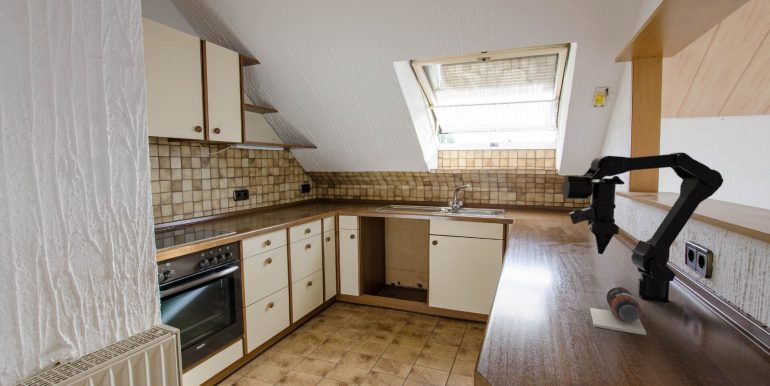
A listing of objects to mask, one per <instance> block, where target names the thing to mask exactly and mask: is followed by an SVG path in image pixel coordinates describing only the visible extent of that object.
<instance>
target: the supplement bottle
mask: <svg viewBox="0 0 770 386" xmlns="http://www.w3.org/2000/svg"><path fill="white" fill-rule="evenodd" d="M606 302H607V304H608V306H609V308H610V311H612V312H613V314H614V315H615V316H616V317H617V318H618V319H620V320H622V321H625V322H634V321H636V320H637V319H638V318H639V319H640V317H641V315H642V307H641V305H640V303H639V302H638V300H637V299H636V298H635V296H634V295H633V294H632V292H630V291H629V290H628V289H626V288H624V287H621V286H620V287H619V286H617V287H613V288H611V289H609V290H608V291H607V294H606Z"/></svg>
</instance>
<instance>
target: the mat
mask: <svg viewBox="0 0 770 386" xmlns="http://www.w3.org/2000/svg"><path fill="white" fill-rule="evenodd" d="M589 309H590V310H589V311H590V314H591V320H592V325H593V327H596V328H601V329H607V330H613V331H619V332H620V331H621V332H627V333H630V334H637V335H644V336H647V331H646V329H645V328H644V326H643V324H642V322H641V320H640V317H639V318H638V319H637V320H636V321H634V322H625V321H622V320H620V319H618V318H617V317H616V316H615V315H614V314H613V312H612V310H606V309H600V308H594V307H590V308H589Z"/></svg>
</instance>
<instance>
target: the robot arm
mask: <svg viewBox="0 0 770 386" xmlns="http://www.w3.org/2000/svg"><path fill="white" fill-rule="evenodd" d="M664 168H665V169H666V168H670V169H672V170H673V172H674V173H675V174H676V176H677V177H679V178H680V179H681V180H682V181H681V184H680V189H679V196H678V198H677V199H676V201H675V202H674V204H673V205H672V206H671V208H670V209H669V211H668V213H667V214H666V215H665V217H664V218H663V220H662V222H661V223H660V224H659V226H658V228H657V229H656V231H655V232H654V234H653V235H652V237H651V238H649V239H648V240H647V241H644V240H638V241H637V243H636V246H635V247H634V248H633V249H632V250H631V252H632V254H631V261H632V264H633V265H634V266H635V267H636V269H637V271H638V273H640V276H639V277H640V278H638V279H637V294H638V295H639V296H640V298H641V299H642V300H646V301H652V302H653V301H655V302H662V303H671V300H670V298H669V297H670V284H671V283H670V282H673V281H674V279H675V278H676V273H675V272H674V271H673V269H671V268H670V267H669V266H668V262H669V259H670V254H671V253H670V251H671V250H670V249H671V246H672V245H673V244H674V242H675V240H676V239H677V238H678V236H679V234H680V233H681V231H682V230H683V229H684V228H685V226H686V224H687V222H688V221H689V220H690V219H691V217H692V216H693V214H694V212H695V211H696V210H697V208H698V207H699V205H700V204H701V203H702V202H703V201H706V200H707V199H708V198H710V197H712V196H713V195H714V194H715V193H716V192H717V191H718V190H719V189H720V188H721V187H722V185H723V183H724V178H723V175H722V174H721V173H720V172H719V171H718V170H716V169H712V168H710V167H709V166H708V165H706V164H704V163H702V162H700V161H698V160H697V159H694V158H693V157H692V156H690V155H689V154H687V153H686V152H683V151H682V152H673V153H672V152H671V153H667V154H658V155H645V156H635V157H634V156H633V157H630V156H629V157H628V156H627V157H626V156H618V155H602V156H597V157H595V158H594V159H592V161H591V163H590V167H589V168H588V170H587V171H586V172H585V173H584V174H583V175H582V176H575V175H566V176H565V180H564V183H563V186H562V197H563V199H565V200H588V199H589V197H590V198H591V202H590V203H589V207H585V208H582V209H581V208H580V207H579V208H577V209H574V210H573V211H570V212H569V213H568V215H569V218H570V220H571V223H572V225H576V224H579V223H581V222H585V221H586V222H587V226H590V227H588V229H589V230H590V233H592V234H593V236H594V239H595V242H596V243H595V244H596V249H597V253H598V254H599V255H603V254H604V252H605V251H606V249H607V247H608V245H609V243H610V242H611V240H612V238H614V235H619V234H620V232H619V230H620V227H619V225H617V224H616V220H615V209H616V206H617V205H616V204H615V203H616V201H615V200H616V186H617V185H625V181H623V180H622V179H621V178H620V177H619V176H618V175H621V174H625V173H628V172H632V171H639V170H652V169H664ZM607 177H611V178H607ZM593 180H595V181H593ZM597 180H598V181H597Z"/></svg>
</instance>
